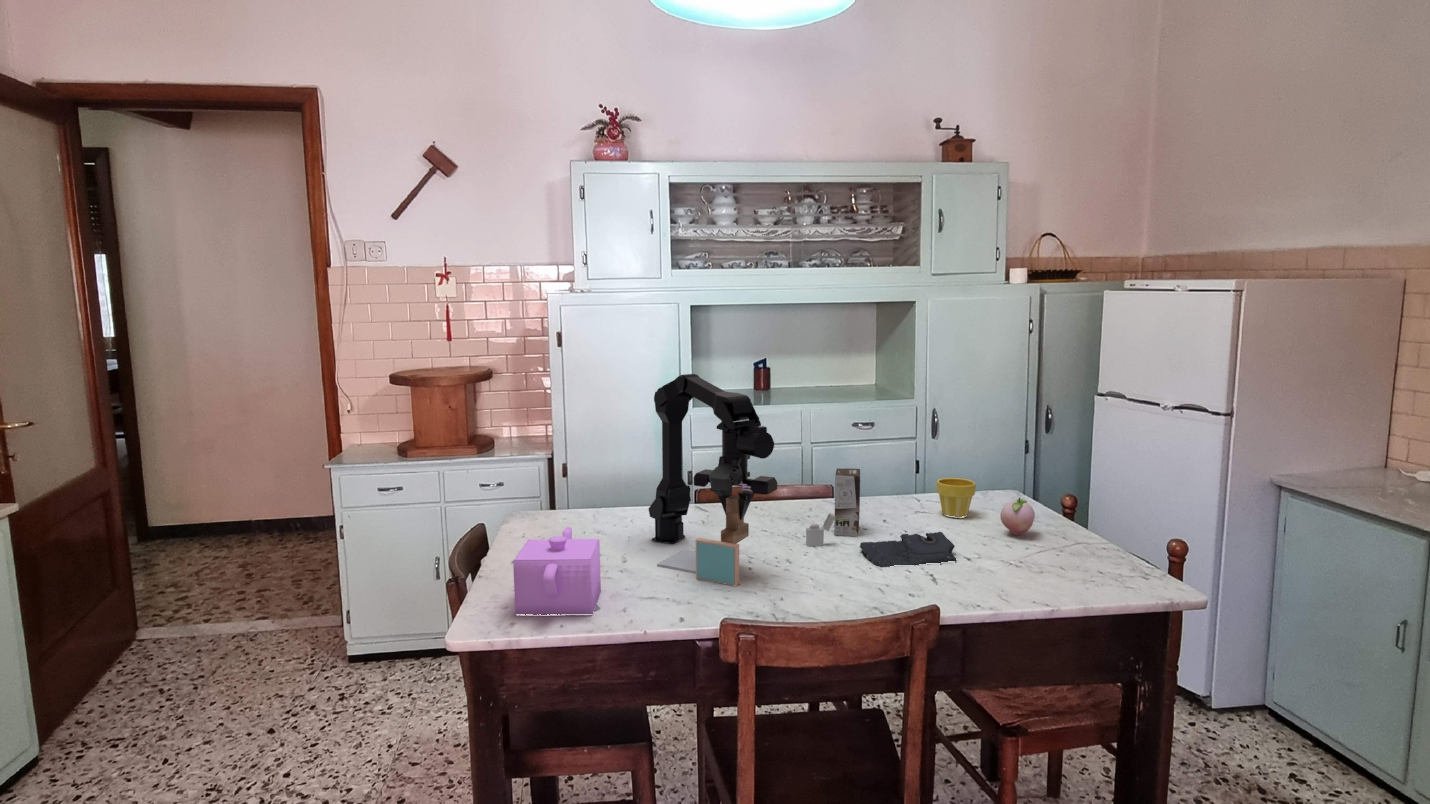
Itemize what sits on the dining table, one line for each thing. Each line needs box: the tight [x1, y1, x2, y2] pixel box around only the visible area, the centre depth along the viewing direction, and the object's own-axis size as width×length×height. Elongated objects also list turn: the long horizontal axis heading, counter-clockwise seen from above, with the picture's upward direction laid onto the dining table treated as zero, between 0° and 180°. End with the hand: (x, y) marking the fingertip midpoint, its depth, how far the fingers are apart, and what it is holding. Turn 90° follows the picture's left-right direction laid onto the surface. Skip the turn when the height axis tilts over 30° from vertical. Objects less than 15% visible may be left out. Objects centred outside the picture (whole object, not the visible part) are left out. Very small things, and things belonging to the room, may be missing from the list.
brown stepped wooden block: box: [720, 494, 750, 544], centre depth 182 cm, size 3×8×10 cm, turn 152°
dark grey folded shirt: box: [859, 531, 957, 568], centre depth 193 cm, size 15×22×5 cm
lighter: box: [805, 512, 836, 547], centre depth 201 cm, size 7×2×8 cm, turn 95°
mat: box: [656, 548, 696, 574], centre depth 189 cm, size 12×12×1 cm
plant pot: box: [936, 477, 976, 517], centre depth 226 cm, size 10×10×10 cm
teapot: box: [512, 526, 602, 615], centre depth 165 cm, size 15×25×14 cm, turn 1°
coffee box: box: [833, 467, 861, 538], centre depth 211 cm, size 9×6×16 cm
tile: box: [695, 537, 740, 587], centre depth 176 cm, size 10×2×9 cm, turn 61°
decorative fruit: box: [1000, 497, 1036, 536], centre depth 207 cm, size 9×8×10 cm
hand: (734, 518), depth 182 cm, fingers closed on brown stepped wooden block, 3 cm apart
